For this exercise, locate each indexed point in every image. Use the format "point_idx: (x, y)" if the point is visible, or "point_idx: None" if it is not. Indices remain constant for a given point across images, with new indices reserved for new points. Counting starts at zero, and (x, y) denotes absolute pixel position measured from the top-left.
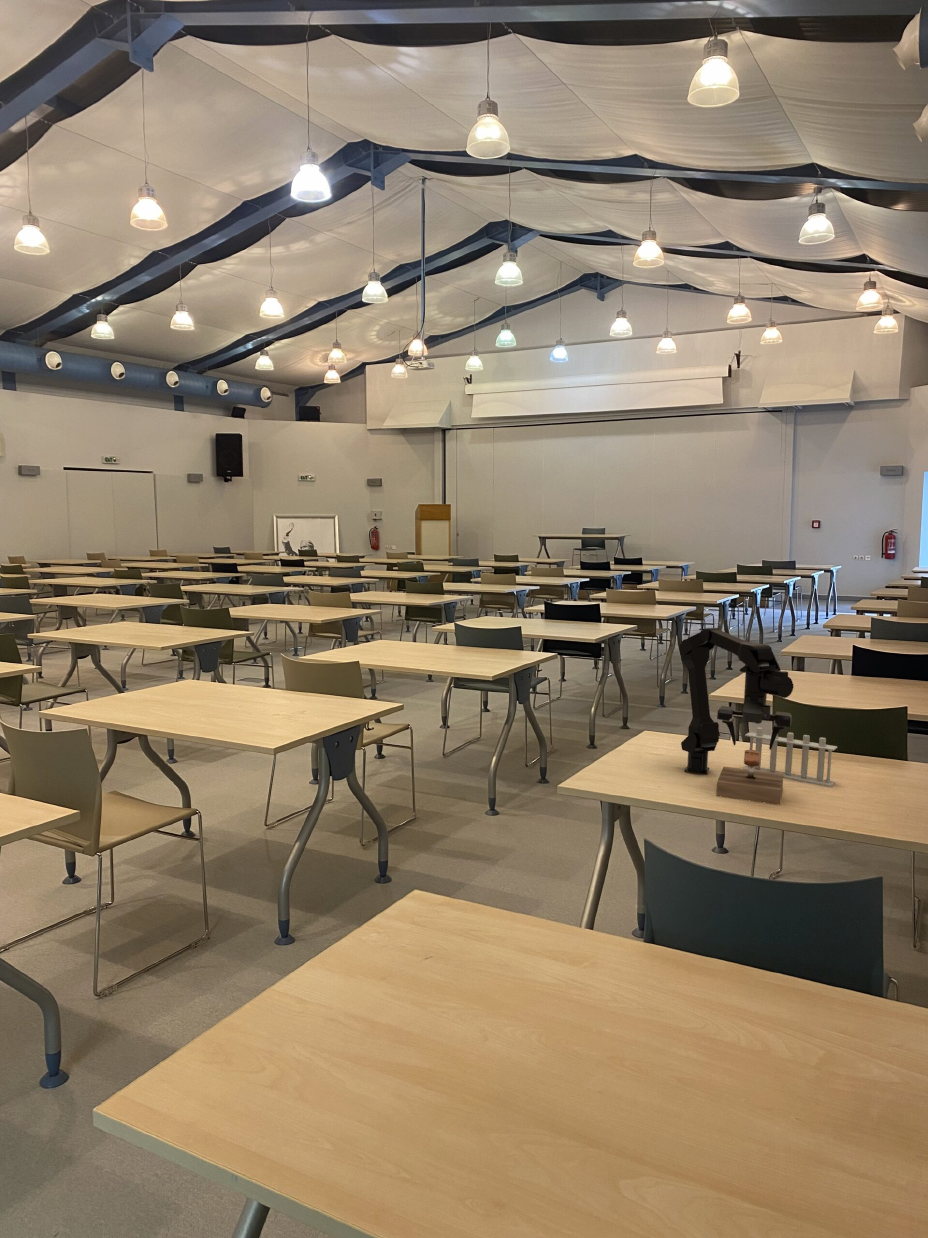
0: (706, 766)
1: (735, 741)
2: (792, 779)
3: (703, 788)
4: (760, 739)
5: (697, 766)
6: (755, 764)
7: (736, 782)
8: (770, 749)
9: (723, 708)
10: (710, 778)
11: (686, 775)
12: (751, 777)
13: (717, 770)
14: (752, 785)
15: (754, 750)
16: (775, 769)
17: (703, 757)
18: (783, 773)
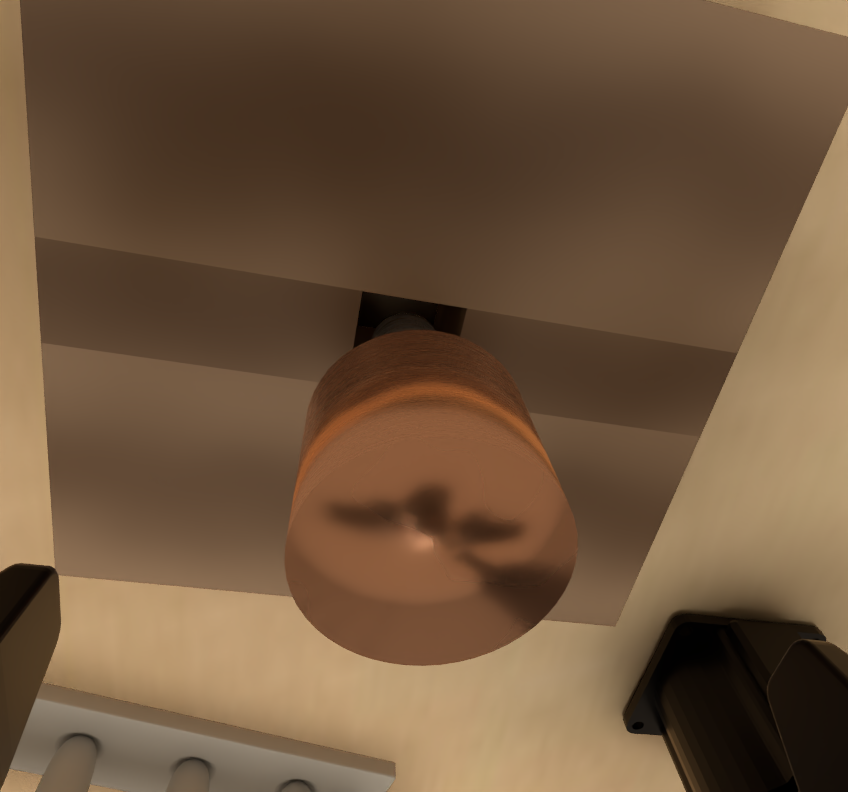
0: (684, 694)
1: (846, 721)
2: (44, 688)
3: (811, 278)
4: None
5: (775, 656)
6: (373, 350)
7: (624, 72)
8: (26, 566)
9: None
10: (665, 552)
11: (830, 567)
12: (403, 321)
13: (567, 720)
14: None
15: (384, 639)
16: (167, 788)
17: (758, 746)
18: (113, 761)
